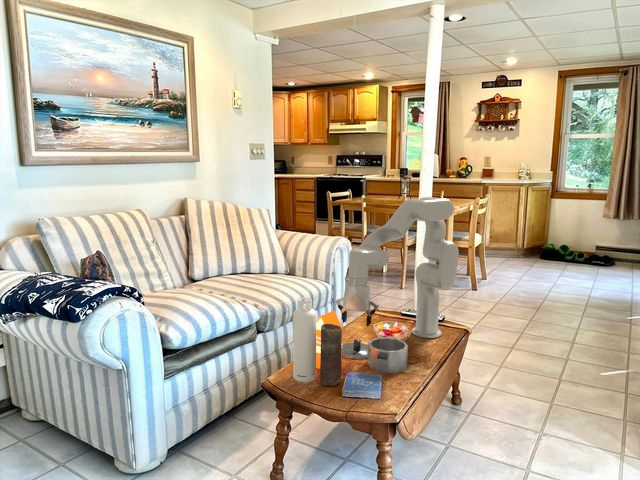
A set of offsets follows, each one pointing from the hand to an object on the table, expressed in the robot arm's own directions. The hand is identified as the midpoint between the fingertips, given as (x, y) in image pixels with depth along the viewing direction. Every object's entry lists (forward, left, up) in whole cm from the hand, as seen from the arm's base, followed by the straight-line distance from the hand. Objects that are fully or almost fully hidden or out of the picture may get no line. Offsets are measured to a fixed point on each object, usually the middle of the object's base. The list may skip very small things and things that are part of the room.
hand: (356, 323), depth 186 cm
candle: (+28, -1, -12) cm, 31 cm away
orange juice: (+15, -7, -12) cm, 21 cm away
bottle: (+27, -11, -12) cm, 32 cm away
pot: (+7, +14, -12) cm, 20 cm away
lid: (-1, 0, -12) cm, 12 cm away
